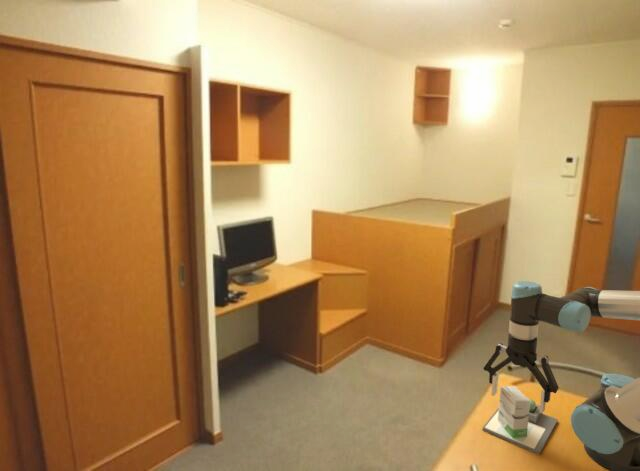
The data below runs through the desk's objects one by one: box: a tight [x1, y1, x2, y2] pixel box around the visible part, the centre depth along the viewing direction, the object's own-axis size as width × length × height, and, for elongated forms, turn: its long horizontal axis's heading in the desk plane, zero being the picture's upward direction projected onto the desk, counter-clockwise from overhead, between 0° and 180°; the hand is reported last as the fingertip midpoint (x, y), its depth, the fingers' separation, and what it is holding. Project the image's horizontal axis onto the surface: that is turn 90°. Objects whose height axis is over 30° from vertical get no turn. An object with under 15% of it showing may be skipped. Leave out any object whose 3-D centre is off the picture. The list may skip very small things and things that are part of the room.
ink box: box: [498, 385, 530, 438], centre depth 128 cm, size 9×5×12 cm, turn 7°
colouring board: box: [482, 403, 559, 456], centre depth 131 cm, size 16×20×3 cm
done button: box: [527, 397, 537, 413], centre depth 136 cm, size 4×4×3 cm
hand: (517, 402), depth 127 cm, fingers open, 13 cm apart
